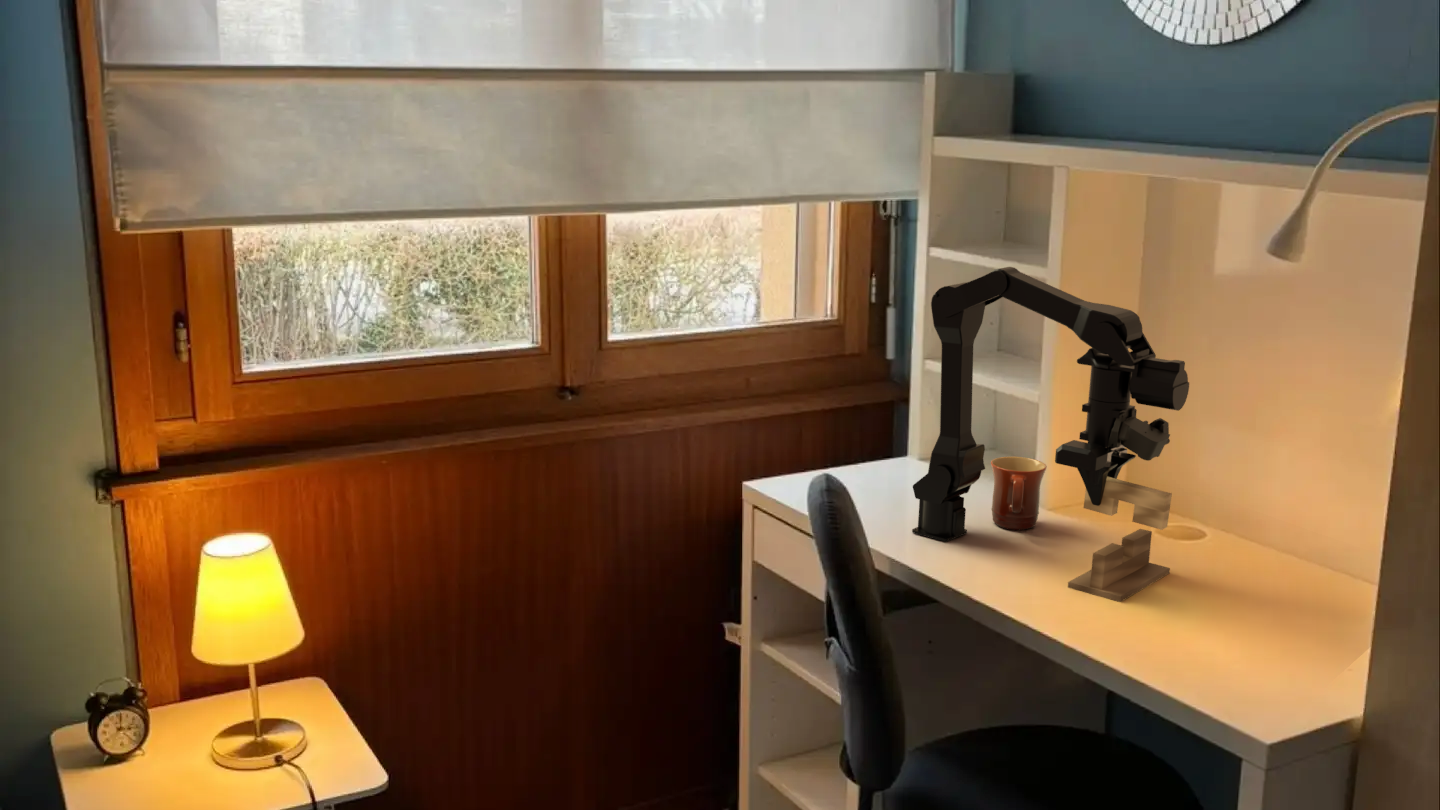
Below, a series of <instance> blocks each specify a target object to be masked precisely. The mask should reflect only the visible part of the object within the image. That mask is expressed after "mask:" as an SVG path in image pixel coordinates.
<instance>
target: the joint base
mask: <svg viewBox="0 0 1440 810" xmlns="http://www.w3.org/2000/svg"><path fill="white" fill-rule="evenodd" d="M1152 533H1153V531H1152V530H1147V529H1143V528H1138V529H1137V530H1135V531H1132V533H1130V534H1128V535H1125V536H1123V537H1121V538H1122V539H1121V544H1117V543H1114V542H1112V543H1109V544H1108V545H1106V546H1103V547H1102V548H1100V549H1098V550H1096V551H1094V552H1092V561H1091V569H1090V570H1088V571H1086V572H1084V573H1083V574H1080V575H1078V576H1076V577H1074V578H1073V579H1071V580H1069V581H1068V582H1067V583H1068V584H1067V588H1069V589H1073V590H1077V591H1080V592H1084V593H1088V594H1090V595H1091V594H1092V595H1095V596H1098V597H1101V598H1105V599H1108V600H1109V599H1110V600H1113V601H1116V602H1119V603H1122V602H1123V601H1125V600H1126V599H1128V598H1130V597H1131V596H1133V595H1134V594H1136V593H1138V592H1140V591H1141V590H1143V589H1145V588H1147V587H1148V586H1151V585H1152V584H1154V583H1155V582H1157V581H1158V580H1160V579H1162V578H1164V577H1166V576H1167V575H1169V574H1170V573H1171V572H1170V571H1171V567H1168V566H1165V565H1160V564H1156V563H1152V562H1150V554H1151V552H1150V551H1151V543H1152Z"/></svg>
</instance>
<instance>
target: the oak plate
mask: <svg viewBox="0 0 1440 810" xmlns="http://www.w3.org/2000/svg"><path fill="white" fill-rule="evenodd" d="M1172 495H1173V493H1172V492H1170V491H1169V492H1168V491H1164V490H1161V489H1157V488H1153V487H1149V486H1145V485H1142V484H1138V483H1134V482H1129V481H1128V480H1127V481H1126V480H1123V479H1122V480H1121V479H1118V478H1117V479H1115V478H1111V477H1107V479H1106V484H1105V488H1104V493H1103V497H1102V500H1101V504H1100V505H1099V506H1097V505H1093V504H1092V502H1091V500H1090V497H1089V494H1088V492H1087V489H1086V488H1085V492H1084V498H1083V499H1084V501H1083V507H1082V508H1083V509H1085V510H1089V511H1093V512H1096V513H1099V514H1100V513H1101V514H1104V515H1107V516H1110V517H1111V516H1114V515H1117V514H1118V510H1119V509H1118V508H1119V501H1120V502H1125V503H1128V504H1132V505H1134V506H1133V515H1132V521H1131V522H1132V523H1136V524H1139V525H1144V526H1146V527H1149V528H1153V529H1158V530H1160V531H1161V530H1162V531H1163V530H1164V529H1166V528H1168V524H1169V517H1170V510H1171V502H1172Z"/></svg>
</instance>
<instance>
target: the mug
mask: <svg viewBox="0 0 1440 810" xmlns="http://www.w3.org/2000/svg"><path fill="white" fill-rule="evenodd" d="M990 465H991V470H992V474H993V492H992V493H993V494H992V502H991V508H990V509H991V517H992V522H994V524H995V525H996V526H998V527H999V528H1002V529H1005V530H1010V531H1027V530H1030V529H1032V528H1033V527H1035V526H1036V524H1037V521H1038V518H1039V514H1040V512H1039V511H1040V501H1041V500H1040V499H1041V498H1040V497H1041V484H1042V480H1043V478H1044V475H1045V473H1046V471H1047V464H1046V463H1045V462H1043V461H1041V460H1038V459H1034V458H1029V457H1024V456H1002V457H1001V456H1000V457H996V458H993V459H992V460H991V461H990Z"/></svg>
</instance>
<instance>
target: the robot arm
mask: <svg viewBox="0 0 1440 810" xmlns="http://www.w3.org/2000/svg"><path fill="white" fill-rule="evenodd" d="M1003 298H1004V299H1006V300H1008V301H1010V302H1012V303H1015V304H1017V305H1019V306H1022V307H1023V308H1026V309H1028V310H1030V311H1032V312H1034V313H1036V314H1038V315H1041V316H1042V317H1045V318H1048V319H1050V320H1052V321H1054V322H1056V323H1059V324H1061V325H1063V326H1065V327H1067V328H1068V329H1069V330H1071V331H1072V332H1073V333H1074V334H1075V335H1076V336H1077V338H1079V340H1080V341H1082V342H1083V343H1085V344H1086V345H1088V347H1090V348H1089V349H1088V350H1087V351H1086V352H1085V354H1083V355H1082V356H1080V357H1079V358H1078V359H1076V363H1077V364H1079V365H1084V366H1090V377H1089V391H1088V399H1087V402H1086V403H1083V404H1082V406H1081V412H1082V413H1087V414H1086V424H1085V430H1082V431H1080V432H1079V438H1078V439H1079V440H1076V439H1072V440H1070V441H1067V442H1066V443H1065V442H1064V443H1063V444H1061V445H1059V446H1058V447H1057V448H1056V449H1055V458H1054V461H1055V464H1056V465H1057V464H1058V465H1063V466H1067V467H1071V468H1075V469H1077V471H1078V473H1079V475H1080V477H1081V480H1082V483H1083V484H1084V486H1085V490H1086V489H1087V492H1088V494H1089V497H1090V500H1091V502H1092V504H1093V505H1097V506H1099V505H1100V504H1101V500H1102V497H1103V493H1104V488H1105V484H1106V479H1107V477H1111V478H1115V479H1118V476H1119V474H1120V471H1121V470H1122V468H1123V466H1125V465H1126V464H1128V463H1129V462H1131V461H1132V460H1134V459H1135V458H1137V457H1138V458H1139V459H1141V460H1144V461H1148V462H1149V461H1152V459H1154V458H1158V457H1160V455H1161V454H1162V452H1163V449H1164V448H1165V446H1166V445H1168V444H1170V441H1171V440H1170V437H1171V434H1170V430H1169V428H1170V427H1169V425H1170V423H1169V422H1168V421H1166V420H1165V419H1163V418H1161V417H1159V418H1156V419H1155V420H1153V421H1151V422H1150V423H1149V421H1148V420H1144V421H1143V420H1141V419H1139V418H1137V409H1136V405H1132V404H1131V399H1133V400H1134V401H1135V402H1136V403H1137V404H1138V405H1144V406H1149V407H1155V408H1159V409H1160V408H1161V409H1166V410H1172V411H1181V410H1182V409H1183V407H1184V405H1185V403H1186V401H1187V398H1188V395H1189V391H1190V390H1189V389H1190V382H1189V377H1188V373H1187V370H1185V367H1186V362H1185V361H1184V360H1179V359H1173V360H1172V359H1171V360H1170V359H1164V358H1163V359H1162V358H1158V357H1157V356H1156V355H1157V354H1156V352H1155V351H1154V349H1153V347H1152V346H1151V344H1150V343H1149V340H1148V339H1147V338H1146V335H1145V334H1144V333H1143V323H1142V321H1141V320H1140V316H1139V315H1138V314H1137V313H1135V312H1134V311H1133V310H1130V309H1128V308H1124V307H1120V306H1115V305H1111V304H1105V303H1098V302H1097V303H1096V302H1090V301H1087V300H1084V299H1082V298H1080V297H1077V296H1075V295H1072V294H1070V293H1069V292H1066V291H1064V290H1061V289H1059V288H1057V287H1054V286H1053V285H1050V284H1047V283H1046V282H1043V281H1041V280H1038V279H1036V278H1034V277H1032V276H1030V275H1028V274H1025V273H1023V272H1021V271H1020V270H1018V269H1017V268H1016V267H1014V266H1006V267H1001V268H1000V267H999V268H994V269H993V270H991V271H990V272H989V273H986V274H985V275H982V276H980V277H977V278H975V279H973V280H970V281H968V282H960V283H955V284H949V285H945V286H942V287H940V288H938V290H936V292H935V293H933V295H932V297H931V302H930V307H931V316H932V323H933V327H934V329H935V332H936V333H937V336H938V338H939V340H940V344H941V357H940V358H941V359H940V360H941V361H940V362H941V364H940V366H941V367H940V408H939V409H940V410H939V411H940V412H939V413H940V414H939V417H940V418H939V435H938V438H937V440H936V441H935V444H934V446H933V448H932V451H931V455H930V459H929V463H928V464H929V465H928V470H927V473H926V474H925V475H924V476H922V477H921V478H920V479H919V480H917V481H916V482H915V483H914V484H913V485H912V489H913V492H914V498H915V499H917V500H919V503H918V504H919V505H918V520H917V526H916V527H914V528H912V529H911V532H912V533H913V534H917V535H919V536H923V537H928V538H931V539H933V540H934V539H935V540H938V541H942V542H949V541H951V540H953V539H956V538H959V537H960V536H962V535H965V534H967V533H968V529H967V528H965V526H966V513H967V512H966V507H964V503H965V502H964V501H965V497H963V496H962V495H964V494H968V493H969V491H970V489H971V487H972V485H974V484H975V483H976V482H977V481H978V480H979V479H980V478H981V475H982V471H983V470H985V469H986V466H985V463H984V455H985V452H986V451H985V449H986V447H985V444H984V443H980V444H977V442H976V440H975V438H974V436H973V433H972V419H973V417H972V414H973V412H972V411H973V379H974V378H973V377H974V375H973V374H974V343H975V341H976V337H977V336H978V333H979V330H980V329H981V327H982V324H983V319H984V315H985V310H986V306H989V305H991V304H993V303H996V302H997V301H999V300H1001V299H1003ZM1129 349H1130V350H1131V351H1130V350H1129ZM1156 357H1157V358H1156ZM1080 440H1081V441H1080ZM1128 450H1129V451H1131V452H1132V453H1128ZM1133 453H1134V454H1133Z"/></svg>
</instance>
